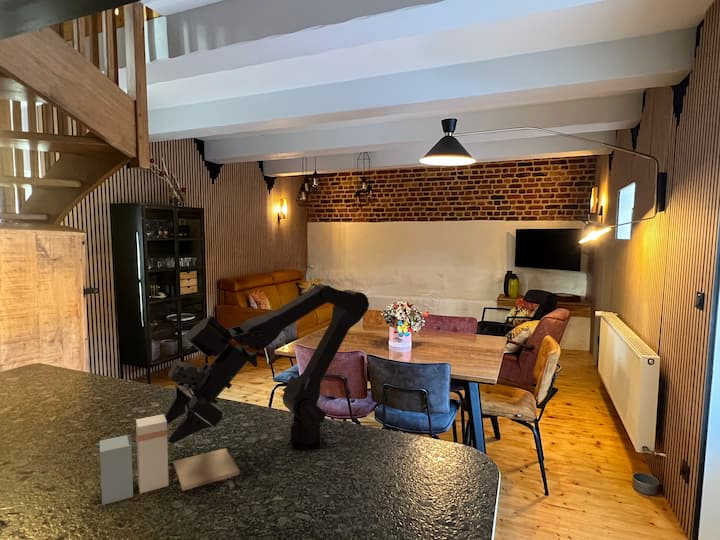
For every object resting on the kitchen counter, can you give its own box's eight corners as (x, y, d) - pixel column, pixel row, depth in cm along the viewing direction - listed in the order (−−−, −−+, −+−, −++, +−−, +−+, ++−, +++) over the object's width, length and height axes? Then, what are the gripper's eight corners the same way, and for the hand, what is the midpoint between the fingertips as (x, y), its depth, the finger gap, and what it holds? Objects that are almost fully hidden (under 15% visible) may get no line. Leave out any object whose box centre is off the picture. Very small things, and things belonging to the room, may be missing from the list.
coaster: (225, 451, 98) (225, 448, 98) (239, 474, 88) (239, 470, 88) (173, 464, 92) (173, 461, 92) (182, 490, 83) (182, 486, 82)
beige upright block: (165, 475, 88) (163, 414, 87) (168, 485, 84) (166, 421, 83) (137, 483, 85) (135, 419, 84) (139, 493, 82) (137, 427, 81)
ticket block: (131, 483, 85) (129, 433, 84) (133, 496, 81) (131, 444, 80) (101, 491, 82) (99, 439, 81) (102, 505, 78) (99, 451, 77)
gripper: (185, 337, 95) (129, 394, 90) (204, 357, 79) (137, 429, 74) (222, 367, 99) (171, 423, 94) (246, 392, 84) (187, 461, 79)
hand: (166, 432), depth 85 cm, fingers open, 9 cm apart
